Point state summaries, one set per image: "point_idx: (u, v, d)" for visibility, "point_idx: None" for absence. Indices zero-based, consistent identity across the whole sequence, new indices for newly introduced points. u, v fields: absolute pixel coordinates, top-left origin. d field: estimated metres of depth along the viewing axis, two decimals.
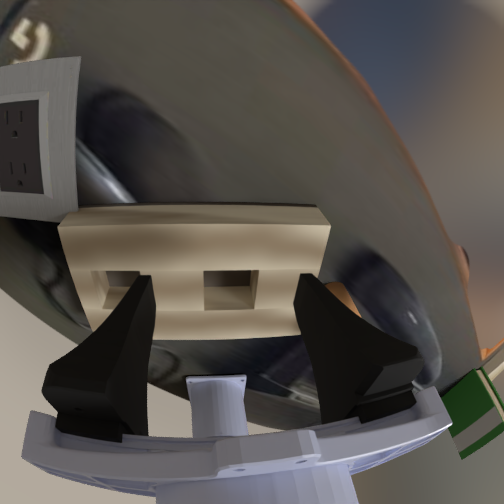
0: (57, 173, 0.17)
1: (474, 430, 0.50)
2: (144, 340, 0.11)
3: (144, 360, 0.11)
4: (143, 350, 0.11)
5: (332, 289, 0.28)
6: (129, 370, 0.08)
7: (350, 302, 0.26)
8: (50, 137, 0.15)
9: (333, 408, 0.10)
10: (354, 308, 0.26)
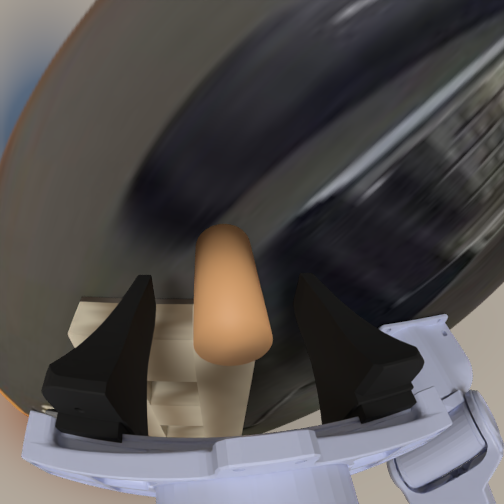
0: None
1: None
2: (144, 340, 0.11)
3: (144, 360, 0.11)
4: (143, 350, 0.11)
5: None
6: (129, 370, 0.08)
7: (196, 272, 0.14)
8: None
9: (333, 407, 0.10)
10: (197, 280, 0.13)
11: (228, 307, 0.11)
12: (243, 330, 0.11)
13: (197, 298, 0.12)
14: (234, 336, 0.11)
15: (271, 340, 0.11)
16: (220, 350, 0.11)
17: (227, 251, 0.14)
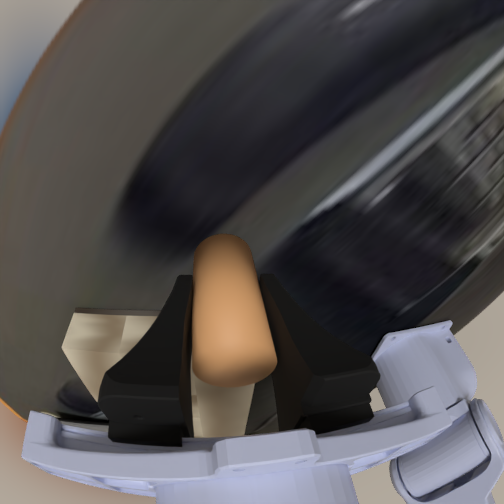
0: None
1: None
2: (189, 341, 0.11)
3: (189, 361, 0.11)
4: (188, 351, 0.11)
5: None
6: (185, 372, 0.09)
7: (194, 287, 0.13)
8: None
9: (286, 415, 0.09)
10: (195, 297, 0.12)
11: (229, 329, 0.10)
12: (245, 353, 0.10)
13: (196, 317, 0.11)
14: (236, 360, 0.10)
15: (275, 362, 0.10)
16: (221, 373, 0.10)
17: (228, 265, 0.13)
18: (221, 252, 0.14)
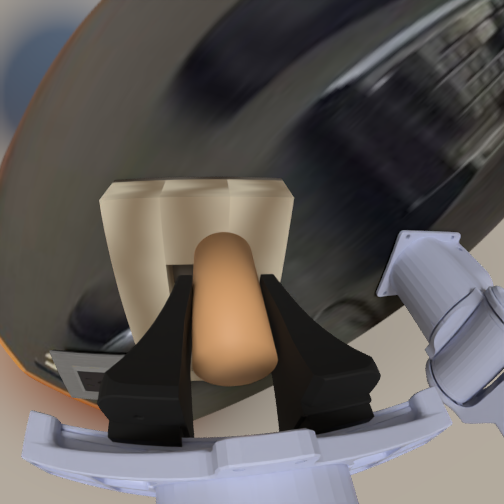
0: None
1: None
2: (189, 341, 0.11)
3: (189, 361, 0.11)
4: (188, 351, 0.11)
5: None
6: (185, 372, 0.09)
7: (194, 284, 0.13)
8: (98, 366, 0.27)
9: (286, 415, 0.09)
10: (196, 294, 0.12)
11: (231, 327, 0.10)
12: (246, 352, 0.10)
13: (196, 314, 0.11)
14: (237, 358, 0.10)
15: (276, 361, 0.10)
16: (221, 371, 0.10)
17: (229, 263, 0.13)
18: (222, 250, 0.14)
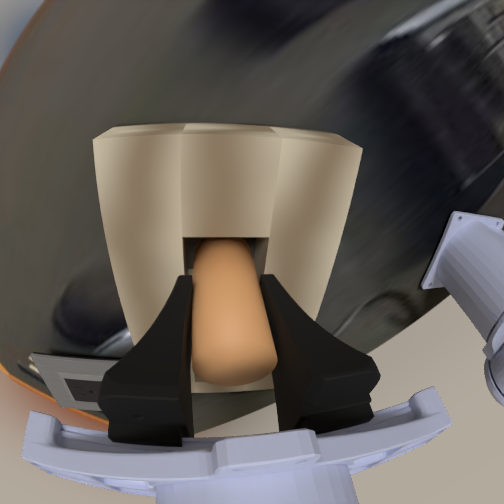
0: None
1: None
2: (189, 341, 0.11)
3: (189, 361, 0.11)
4: (188, 351, 0.11)
5: None
6: (185, 372, 0.09)
7: (194, 284, 0.13)
8: (89, 373, 0.22)
9: (286, 415, 0.09)
10: (196, 294, 0.12)
11: (231, 327, 0.10)
12: (246, 352, 0.10)
13: (196, 314, 0.11)
14: (237, 358, 0.10)
15: (275, 362, 0.10)
16: (220, 371, 0.10)
17: (229, 263, 0.13)
18: (222, 250, 0.14)
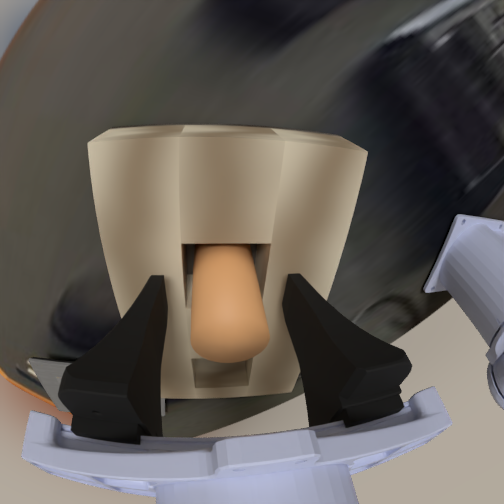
0: None
1: None
2: (158, 340, 0.11)
3: (158, 361, 0.11)
4: (157, 350, 0.11)
5: None
6: (146, 371, 0.08)
7: (195, 268, 0.14)
8: None
9: (319, 410, 0.10)
10: (196, 276, 0.13)
11: (227, 304, 0.11)
12: (240, 327, 0.11)
13: (196, 294, 0.12)
14: (232, 333, 0.11)
15: (268, 339, 0.11)
16: (217, 347, 0.11)
17: (227, 248, 0.14)
18: None
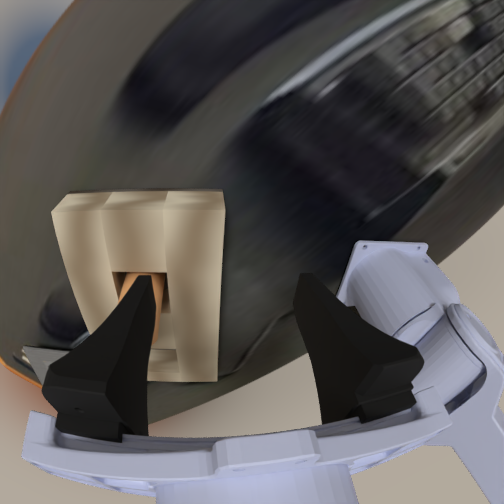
0: None
1: None
2: (144, 340, 0.11)
3: (144, 360, 0.11)
4: (143, 350, 0.11)
5: None
6: (129, 370, 0.08)
7: None
8: None
9: (333, 407, 0.10)
10: (121, 291, 0.19)
11: None
12: None
13: (118, 303, 0.18)
14: None
15: (156, 333, 0.18)
16: None
17: (141, 274, 0.20)
18: None
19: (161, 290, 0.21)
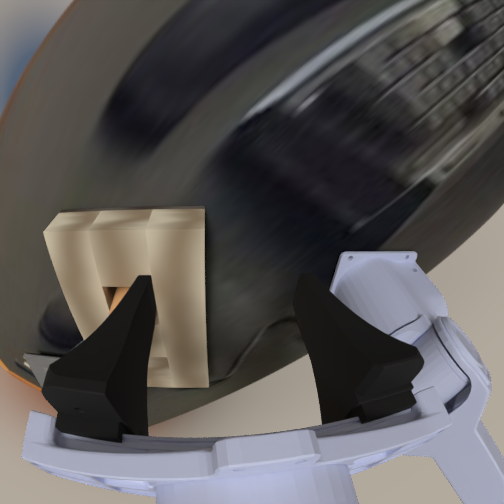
0: None
1: None
2: (144, 340, 0.11)
3: (144, 360, 0.11)
4: (143, 350, 0.11)
5: None
6: (129, 370, 0.08)
7: (113, 299, 0.21)
8: None
9: (333, 407, 0.10)
10: (111, 305, 0.20)
11: None
12: None
13: None
14: None
15: None
16: None
17: None
18: None
19: None
